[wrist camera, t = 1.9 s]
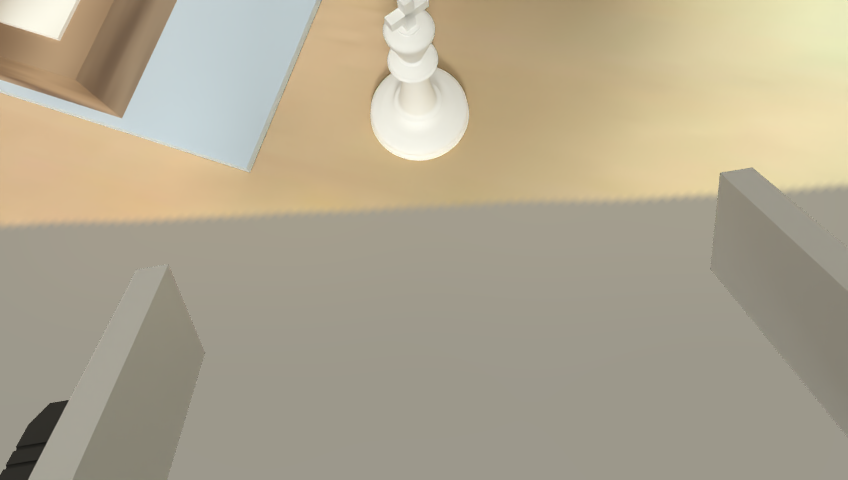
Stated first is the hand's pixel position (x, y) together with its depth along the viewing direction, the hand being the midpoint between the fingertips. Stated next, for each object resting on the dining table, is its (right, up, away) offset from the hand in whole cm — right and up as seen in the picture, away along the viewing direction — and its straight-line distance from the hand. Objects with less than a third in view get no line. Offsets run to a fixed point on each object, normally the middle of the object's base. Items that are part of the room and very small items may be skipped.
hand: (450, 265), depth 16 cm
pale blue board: (-16, +12, +19) cm, 28 cm away
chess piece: (-1, +7, +17) cm, 19 cm away
